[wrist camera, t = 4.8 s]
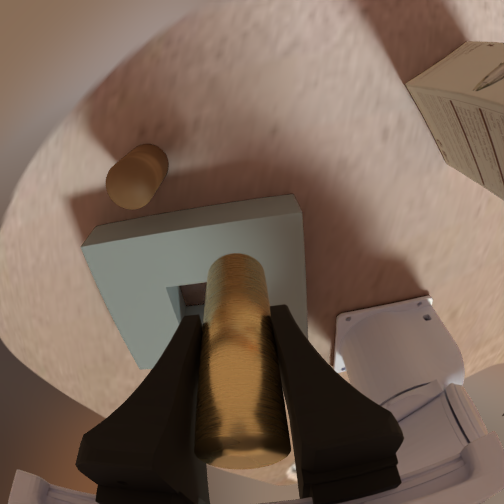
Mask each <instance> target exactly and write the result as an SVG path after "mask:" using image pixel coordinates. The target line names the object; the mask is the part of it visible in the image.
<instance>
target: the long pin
mask: <svg viewBox="0 0 504 504" xmlns="http://www.w3.org/2000/svg"><path fill="white" fill-rule="evenodd" d="M290 452H291V445H290V438H289V431H288V424H287V417H286V410H285V403H284V396H283V390H282V383H281V376H280V369H279V363H278V356H277V349H276V344H275V339H274V335H273V329H272V322H271V314H270V303H269V297H268V290H267V284H266V277H265V271H264V269H263V267H262V265H261V264H260V263H259V262H258V261H257V260H256V259H255V258H253V257H251V256H249V255H246V254H241V253H232V254H227V255H224V256H222V257H220V258H218V259H217V260H216V261H215V262H214V263H213V264H212V265H211V267H210V268H209V271H208V276H207V286H206V296H205V306H204V317H203V328H202V340H201V352H200V365H199V378H198V393H197V408H196V425H195V444H194V453H195V455H196V457H197V458H198V459H199V460H201V461H202V462H204V463H207V464H209V465H212V466H216V467H220V468H227V469H253V468H260V467H265V466H269V465H272V464H275V463H277V462H279V461H281V460H283V459H284V458H286V457H287V456H288V455H289V453H290Z"/></svg>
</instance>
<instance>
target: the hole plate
mask: <svg viewBox="0 0 504 504" xmlns="http://www.w3.org/2000/svg"><path fill="white" fill-rule="evenodd" d="M81 249H82V252H83V254H84V257H85V259H86V261H87V264H88V266H89V268H90V271H91V273H92V275H93V278H94V280H95V282H96V284H97V287H98V289H99V291H100V293H101V295H102V297H103V300H104V302H105V304H106V306H107V308H108V310H109V312H110V314H111V316H112V318H113V320H114V322H115V324H116V326H117V328H118V330H119V332H120V334H121V336H122V338H123V340H124V341H125V343H126V345H127V347H128V349H129V351H130V353H131V354H132V356H133V358H134V360H135V362H136V363H137V365H138V367H139V369H153V367H154V366H155V364H156V363H157V361H158V360H159V358H160V357H161V355H162V354H163V352H164V350H165V349H166V347H167V345H168V344H169V342H170V340H171V339H172V337H173V335H174V333H175V331H176V330H177V328H178V326H179V324H180V322H181V320H182V318H183V317H184V316H188V315H198V314H199V316H200V319H201V323H202V326H203V317H204V306H205V304H203V305H195V306H186V305H185V302H184V298H183V295H182V292H181V289H180V285H188V284H196V283H204V282H207V276H208V271H209V268H210V267H211V265H212V264H213V263H214V262H215V261H216V260H217V259H218V258H220V257H222V256H224V255H227V254H232V253H241V254H246V255H249V256H251V257H253V258H255V259H256V260H257V261H258V262H259V263H260V264H261V265H262V267H263V269H264V271H265V277H266V284H267V290H268V297H269V303H270V306H275V305H283V304H285V305H287V306H288V308H289V310H290V312H291V314H292V316H293V318H294V320H295V321H296V323H297V325H298V326H299V328H300V329H301V331H302V332H303V334H304V335H305V336H306V338H307V339H308V321H307V292H306V269H305V250H304V232H303V217H302V211H301V209H300V207H299V204H298V202H297V200H296V198H295V196H294V194H288V195H280V196H273V197H265V198H258V199H251V200H244V201H237V202H231V203H224V204H217V205H211V206H205V207H199V208H192V209H186V210H180V211H175V212H169V213H163V214H158V215H152V216H146V217H141V218H136V219H130V220H125V221H120V222H115V223H110V224H105V225H100V226H96V227H95V228H94V230H93V231H92V232H91V234H90V235H89V236H88V238H87V239H86V240H85V242H84V243H83V245H82V246H81Z"/></svg>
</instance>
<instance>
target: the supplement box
mask: <svg viewBox="0 0 504 504" xmlns="http://www.w3.org/2000/svg"><path fill="white" fill-rule="evenodd" d="M405 85H406V87H407V88H408V90H409V92H410V94H411V96H412V97H413V99H414V101H415V103H416V104H417V106H418V108H419V110H420V112H421V113H422V115H423V117H424V119H425V121H426V123H427V125H428V127H429V129H430V131H431V132H432V134H433V136H434V139H435V140H436V143H437V145H438V147H439V149H440V151H441V153H442V155H443V157H444V159H445V161H446V163H447V165H449V166H451V167H452V168H454V169H456V170H457V171H459V172H461V173H462V174H464V175H465V176H467V177H468V178H470V179H472V180H473V181H475V182H476V183H478V184H480V185H481V186H483V187H484V188H486V189H487V190H489V191H490V192H492V193H493V194H495V195H496V196H498V197H499V198H501V199H502V200H504V43H498V42H465V43H464V44H463V45H461V46H460V47H459V48H458V49H456V50H455V51H454V52H452V53H451V54H449V55H448V56H447V57H445V58H444V59H442V60H441V61H439V62H438V63H436V64H435V65H433V66H432V67H430V68H429V69H427V70H426V71H424V72H423V73H421V74H420V75H418V76H416V77H415V78H413V79H412V80H410V81H408V82H407V83H406V84H405Z"/></svg>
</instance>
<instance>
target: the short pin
mask: <svg viewBox="0 0 504 504" xmlns="http://www.w3.org/2000/svg"><path fill="white" fill-rule="evenodd" d="M168 167H169V163H168V159H167V156H166V154H165V153H164V152H163V150H162V149H160V148H159V147H157V146H155V145H152V144H143V145H140V146H138V147H136V148H135V149H133V150H132V151H131V152H130V153H128V154H127V155H126V156H125V157H123V158H122V159H121V160H120V161H119V162H117V163H116V164H115V165H114V166H113V167H112V168H111V169H110V170H109V172H108V174H107V177H106V189H107V192H108V195H109V197H110V198H111V200H112V201H113V202H114V203H115V204H117V205H118V206H120V207H122V208H125V209H130V210H134V209H139V208H141V207H143V206H145V205H146V204H147V203H148V202H149V201H150V200H151V199H152V197H153V195H154V194H155V192H156V190H157V189H158V187H159V186H160V184H161V182H162V181H163V179H164V178H165V176H166V174H167V172H168Z"/></svg>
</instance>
